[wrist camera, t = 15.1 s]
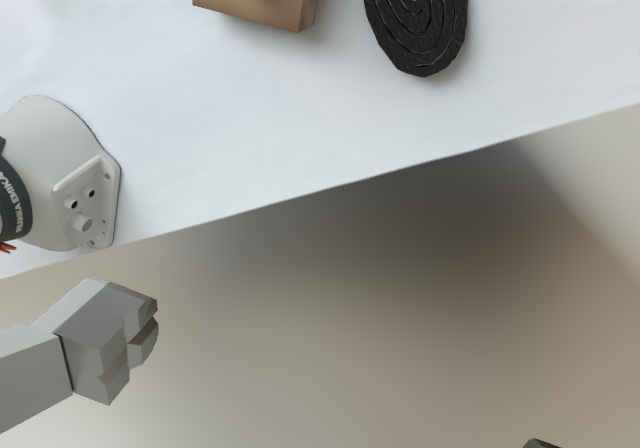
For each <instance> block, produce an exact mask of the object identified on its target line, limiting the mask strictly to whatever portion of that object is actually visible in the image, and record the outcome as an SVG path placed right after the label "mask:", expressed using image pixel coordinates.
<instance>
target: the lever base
mask: <svg viewBox="0 0 640 448" xmlns="http://www.w3.org/2000/svg"><path fill="white" fill-rule="evenodd" d="M193 5H194V6H198V7H202V8H205V9H209V10H213V11H217V12H221V13H224V14H228V15H232V16H236V17H240V18H243V19H247V20H251V21H255V22H259V23H262V24H266V25H270V26H274V27H277V28H281V29H285V30H289V31H293V32H296V33H299V32H301V31H303V30H305V29H306V28H308V27H310V26H312V25H313V24H314V17H315V11H316V5H317V0H193Z"/></svg>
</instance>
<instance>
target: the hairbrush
mask: <svg viewBox="0 0 640 448" xmlns="http://www.w3.org/2000/svg"><path fill="white" fill-rule="evenodd" d="M413 1H414V0H413ZM413 1H412V0H403V2H404V3H405V5H406V7H407V8H408V10H409V11H410V12H412V13H415V14H417V13H419V12H421V11H422V10H424V12H422V13H421V14H419V15H415V16H414V15H412V14H411V13H410V12H409V11H408V10H407V9H406V8H405V7H404V8H403V6H402V5H403V4H401V1H400V0H390V2H391V5H392V8H393V9H394V11H395V12H396V14H397V15H398V17H399V18H400V20H401V21H402V22H400V21H399V20H398V18H397V17H396V15H395V13H393V10H392V8H391V6H390V4H389V1H388V0H377V4H378V8H379V10H378V9H377V6H376V2H375V0H364V4H365V9H366V14H367V18H368V20H369V22H370V25H371V27H372V29H373V32H374V34H375V36H376V39H377V41H378V44H379V45H380V47H381V48H382V49H383V51H384V52H385V53H386V55H387V56H388V57H389V59H390V60H391V61H392V63H393V64H394V65H395V67H396V68H397V69H398V70H400V71H403V72H405V73H408V74H412V75H416V76H420V77H424V78H425V77H428V76H430V75H433V74H435V73H438V72H439V71H441V70H443V69H445V68H446V67H447V66H448V65H449V64H450V63H451V62H452V60H453V59H454V58H455V57H456V55H457V53H458V52H459V50H460V48H461V46H462V44H463V42H464V38H465V29H466V24H467V3H468V0H455V4H456V14H457V21H456V27H455V30H454V34H453V37H452V40H451V42H450V44H449V46H448V48H447V50H446V51H445V52H444V54H443V55H442V56H441V58H440V59H438V60H437V61H436V62H435V63H434V64H431V65H421V66H415V65H418V64H430V63H432V62H433V61H435V60H436V59H437V58H438V57H439V56H440V55H441V54H442V52H443V51H444V49H445V47H446V45H447V43H448V41H449V40H450V38H451V36H452V33H453V26H454V19H455V6H454V0H444V1H445V27H444V30H443V33H442V35H441V31H442V27H443V23H444V3H443V0H432V11H433V19H432V21H431V24H430V26H429V28H428V31H427V32H425V33H423V34H415V33H416V32H423V31H425V30H426V29H427V27H428V25H429V23H430V20H431V2H430V0H416V1H414V2H413ZM378 11H380V12H381V14H382V16H383V18H384V20H385V22H386V24H387V26H388V27H387V26H386V24H385V23H383V20H382V18H381V15H380V13H379V12H378ZM388 28H389V29H390V30H389V29H388ZM408 28H409V29H410V30H412V31H413V32H415V33H413V32H411V31H410V30H409V29H408ZM440 35H441V38H440ZM395 38H397V39H398V40H399V41H400V42H401V43H402V44H403V45H404V46H405V47H404V46H403V45H402V44H400V43H399V42H398V41H397V40H396V39H395ZM439 38H440V41H439V43H438V45H437V46H436V48H435V49H433V50H432V51H431V52H429V53H427V54H420V53H423V52H426V51H429V50H431V49H432V48H433V47H434V46H435V44H436V42H437V41H438V40H439ZM409 49H410V50H413V51H416V52H419V53H414V52H411V51H410V50H409Z"/></svg>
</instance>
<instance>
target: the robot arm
mask: <svg viewBox="0 0 640 448" xmlns="http://www.w3.org/2000/svg"><path fill="white" fill-rule="evenodd" d="M119 179H120V167H119V165H118V164H117V162H116V161H115V160H114V159H113V158H112V157H111V156H110V155H109V154H108V153H106V152H105V151H104V150H103V149H102V148H101V146H100V145H99V143H98V142H97V140H96V139H95V137H94V136H93V134H92V133H91V131H90V130H89V129H88V127H87V126H86V125H85V124H84V123H83V121H82V120H81V119H80V118H79V117H78V116H77V115H75V114H74V113H73V112H72V111H71V110H69V109H68V108H67V107H65V106H64V105H62V104H60V103H58V102H56V101H54V100H52V99H49V98H46V97H41V96H29V97H25V98H23V99H21V100H20V101H18V102H17V103H16V104H15V105H14V106H13V107H12V108H10V109H9V110H8V111H6V112H5V113H4V114H2V115H1V116H0V251H2V252H6V253H9V254H10V251H8V250H6V249H10V250H16V247H14V246H12V245H9V244H6V243H4V242H5V241H10V240H14V239H18V240H20V241H23V242H26V243H28V244H31V245H34V246H37V247H40V248H43V249H47V250H51V251H68V250H72V249H74V248H77V247H79V246H82V247H87V248H95V249H97V248H105V247H108V246H109V245H111V244H112V241H113V232H114V223H115V215H116V206H117V197H118V188H119ZM4 248H5V249H4ZM157 310H158V309H157V300H156V299H153V298H151V297H148V296H146V295H143V294H141V293H138V292H136V291H133V290H131V289H128V288H126V287H123V286H121V285H118V284H116V283H114V282H111V281H108V280H106V279H103V278H100V277H98V276H95V275H92V276H89V277H87V278H85V279H83V280H82V281H81V282H80V283H79V284H77V285H76V286H75V287H74V288H73V289H72V290H70V291H69V292H68V293H67V294H66V295H64V296H63V297H62V298H61V299H60V300H59V301H57V302H56V303H55V304H54V305H53V306H52V307H50V308H49V309H48V310H47V311H46V312H44V314H42V315H41V316H40V317H39V318H38V319H36V320H35V321H34V322H33V323H32V324H27V323H21V324H18V325H15V326H12V327H9V328H6V329H3V330H0V434H1V433H3V432H5V431H7V430H9V429H10V428H12V427H14V426H16V425H18V424H20V423H22V422H24V421H25V420H27V419H29V418H31V417H33V416H35V415H36V414H38V413H40V412H42V411H44V410H46V409H48V408H49V407H51V406H53V405H55V404H57V403H58V402H60V401H62V400H64V399H66V398H68V397H70V396H72V395H73V392H74V393H76V394H79V395H82V396H84V397H87V398H90V399H92V400H95V401H97V402H100V403H103V404H106V405H108V406H109V405H110V404H111V403H112V401H113V400H114V399H115V398H116V396H117V395H118V394H119V393H120V391H121V390H122V389H123V388H124V386H125V385H126V384H127V383H128V381H129V371H130V369H132V368H134V367H137V366H139V365H141V364H143V362H144V361H145V360H146V359H147V357H148V356H149V355H150V353H151V351H152V349H153V347H154V345H155V343H156V341H157V336H158V323H157V322H156V321H155V319H154V317H153V315H154V314H155V312H157ZM523 448H561V447H558V446H555V445H553V444H550V443H547V442H544V441H541V440H539V439H536V438H534V439H530V440H529V441H528V442H527V443H526V444H525V445H524V446H523Z"/></svg>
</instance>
